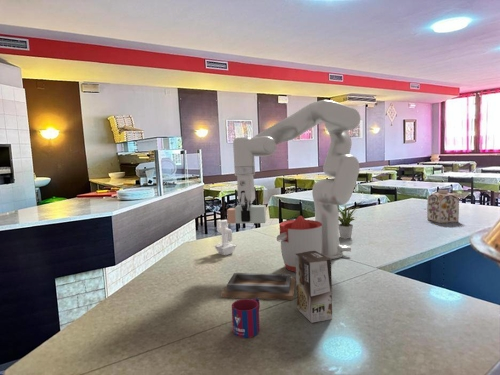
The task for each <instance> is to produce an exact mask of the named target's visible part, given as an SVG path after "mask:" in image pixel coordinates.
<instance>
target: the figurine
mask: <svg viewBox="0 0 500 375" xmlns="http://www.w3.org/2000/svg"><path fill="white" fill-rule="evenodd" d="M216 230H217V232H218V233H219V234H221V243H219V244H218V243H217V244H215V245H213V247H214V248H215V249H216V251H217V252H218V254H219V255H222V256H227V255H232V254H233V253H234V251H235V249H236V248H237V244H234V243H231V242H233V230H232V229H231V228H229V223H228V220H227V219H221V220H220V219H218V220H217V221H216Z"/></svg>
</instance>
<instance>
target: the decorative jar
mask: <svg viewBox="0 0 500 375" xmlns="http://www.w3.org/2000/svg"><path fill="white" fill-rule="evenodd" d="M437 190H438V191H437V192H432V193H431V194H430V195H428V197H427V206H426V207H427V208H426V211H427V212H426V219H427V220H429V221H432V222H435V223H438V224H447V223H448V222H451V223H458V222H459V220H460V219H459V218H460V199H459V198H458V196H457V195H456V194H455V193H454V192H449V191H448V189H437ZM448 224H449V223H448Z"/></svg>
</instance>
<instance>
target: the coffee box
mask: <svg viewBox="0 0 500 375" xmlns="http://www.w3.org/2000/svg"><path fill="white" fill-rule="evenodd" d="M295 260H296V272H295V287H296V304H297V305H296V306H297V307H296V309H297V310H298V311H299V312H300V313H301V314H302V315H303V316H304V317H305V318H306V319H307V320H308V321H309V322H310V323H311V324H314V323H319V322H323V321H330V320H333V298H332V297H333V296H332V294H333V293H332V292H333V291H332V290H333V288H332V285H333V284H332V259H330V258H328V257H326V256H324V255H322V254H320V253H318V252H317V251H308V252H303V253H297V254H295Z"/></svg>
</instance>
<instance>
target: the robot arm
mask: <svg viewBox="0 0 500 375" xmlns="http://www.w3.org/2000/svg"><path fill="white" fill-rule="evenodd" d="M360 123H361V115H360V112H359V111H358V110H357V109H356V108H354V107H351V106H350V105H346V104H344V103H343V104H342V103H340V102H337V101H333V100H329V99H322V100H321V99H320V100H317V101H313V102H311V103H309V104H307V105H305V106H304V107H302V108H301V109H299V110H297V111H295V112H294V113H293V114H291V115H290V116H287V117H286V118H284V119H282V120H279V121H278V122H277V123H275V124H273V125H271V126H269V127H268V128H266V129H264V130H263V131H261V132H259V133H257V134H256V135H254V136H253V137H250V136H247V137H245V136H243V137H236V138H234V139H233V141H232V148H233V167H234V176H235V177H236V178H237V180H236V181H237V182H236V183H237V184H236V185H237V201H238V203H239V204H240V206H241V221H242V222H250V211H249V205H252V203H253V202H254V201H255V199H256V191H255V190H256V189H255V179H254V176H255V175H256V169H255V168H256V166H255V165H256V163H255V157H262V158H263V157H270V156H271V155H274V153H275V152H276V150H277V145H279V144H282V143H284V142H289V141H292V140H294V139H296V138H299V137H300V136H302V135H303V134H304V133H306V132H308V131H309V130H310V129H311V130H312V128H314V127H316V126H317V125H319V124H324V126H325V128H326V130H327V132H328V133H329V136H330V144H329V148H328V151H327V152H326V153H327V154H326V157H325V160H324V164H323V168H322V170H323V173H324V174H325V175H326V176H327V177H329V178H334V179H327V178H325V179H320V180H318V181H316V182H315V183H314V184H313V186H312V198H313V203H314V204H313V205H314V221H318V222H320V223H322V226H321V238H322V250H321V254H322V255H324V256H326V257H328V258H330V259H331V260H335V259H339V258H342V257H343V256H344V252H352V247H351V246H348V245H341V244H340V233H339V224H340V221H339V216H340V212H339V211H338V209H339V207H338V206H343V205H346V204H348V202H349V201H350V200H351V197H352V196H353V192H354V190H355V187H356V184H357V180H358V177H359V173H360V163H359V160H358V158H357V157H356V156H354V155H353V154H350V153H351V150H352V138H351V135H350V133H349V131H352V130H354V129H356V128H357V127H358V126H359V124H360Z"/></svg>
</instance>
